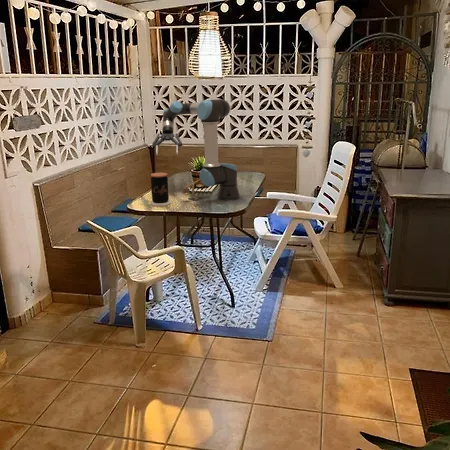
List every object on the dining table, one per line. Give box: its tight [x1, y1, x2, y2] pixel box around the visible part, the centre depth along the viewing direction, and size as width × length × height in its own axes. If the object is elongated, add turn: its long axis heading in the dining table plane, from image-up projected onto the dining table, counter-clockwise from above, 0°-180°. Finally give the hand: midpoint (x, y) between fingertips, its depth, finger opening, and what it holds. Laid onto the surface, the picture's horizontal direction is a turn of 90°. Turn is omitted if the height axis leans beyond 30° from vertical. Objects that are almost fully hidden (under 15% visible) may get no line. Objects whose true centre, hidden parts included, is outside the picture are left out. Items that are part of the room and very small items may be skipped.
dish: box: [149, 199, 172, 208], centre depth 310 cm, size 13×13×2 cm
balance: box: [182, 178, 205, 202], centre depth 318 cm, size 6×17×13 cm, turn 133°
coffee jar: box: [150, 172, 170, 203], centre depth 307 cm, size 11×11×18 cm
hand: (167, 154), depth 320 cm, fingers open, 13 cm apart
